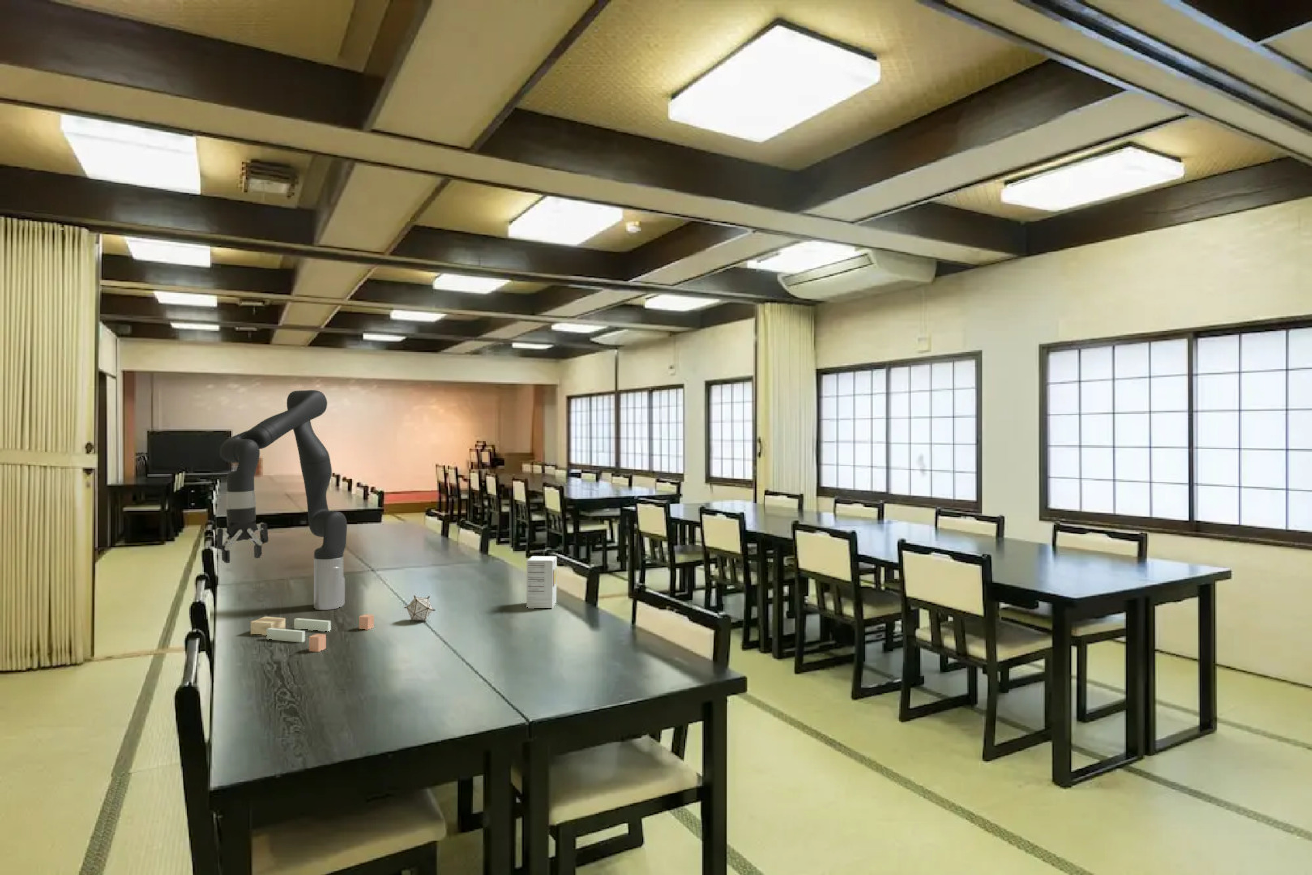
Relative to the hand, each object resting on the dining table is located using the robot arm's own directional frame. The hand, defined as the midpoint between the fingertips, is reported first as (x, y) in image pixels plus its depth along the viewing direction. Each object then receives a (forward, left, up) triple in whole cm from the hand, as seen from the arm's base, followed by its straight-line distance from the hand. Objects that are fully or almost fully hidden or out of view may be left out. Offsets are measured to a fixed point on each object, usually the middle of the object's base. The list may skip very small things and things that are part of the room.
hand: (242, 560), depth 213 cm
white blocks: (-4, +16, -22) cm, 28 cm away
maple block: (-4, +5, -23) cm, 24 cm away
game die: (-27, +42, -23) cm, 55 cm away
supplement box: (-56, +72, -23) cm, 94 cm away
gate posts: (-4, +31, -22) cm, 39 cm away
